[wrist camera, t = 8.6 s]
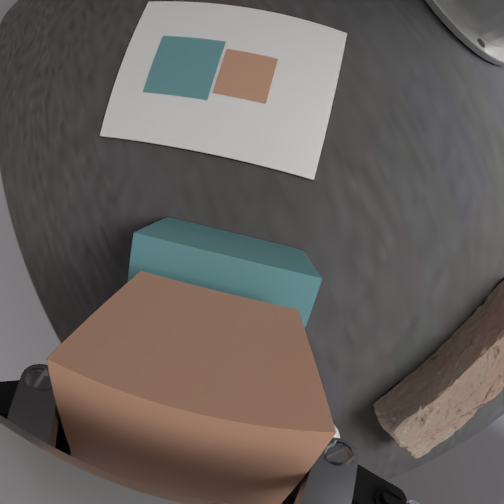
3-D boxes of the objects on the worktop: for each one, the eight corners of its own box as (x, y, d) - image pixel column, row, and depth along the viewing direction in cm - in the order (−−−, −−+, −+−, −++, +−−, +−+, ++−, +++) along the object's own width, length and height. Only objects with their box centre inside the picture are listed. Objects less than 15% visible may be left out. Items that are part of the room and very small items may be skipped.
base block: (167, 216, 16) (133, 232, 11) (302, 250, 17) (322, 278, 12) (150, 334, 18) (123, 378, 13) (266, 362, 18) (269, 414, 14)
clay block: (141, 270, 10) (46, 358, 4) (298, 309, 11) (336, 432, 5) (133, 387, 12) (84, 484, 6) (257, 417, 12) (258, 527, 6)
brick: (401, 434, 21) (417, 467, 17) (365, 401, 20) (384, 441, 15) (517, 324, 19) (545, 344, 14) (504, 268, 17) (540, 286, 13)
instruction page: (149, 3, 13) (148, 1, 12) (346, 34, 13) (347, 32, 13) (101, 136, 15) (99, 135, 15) (313, 179, 16) (313, 179, 15)
